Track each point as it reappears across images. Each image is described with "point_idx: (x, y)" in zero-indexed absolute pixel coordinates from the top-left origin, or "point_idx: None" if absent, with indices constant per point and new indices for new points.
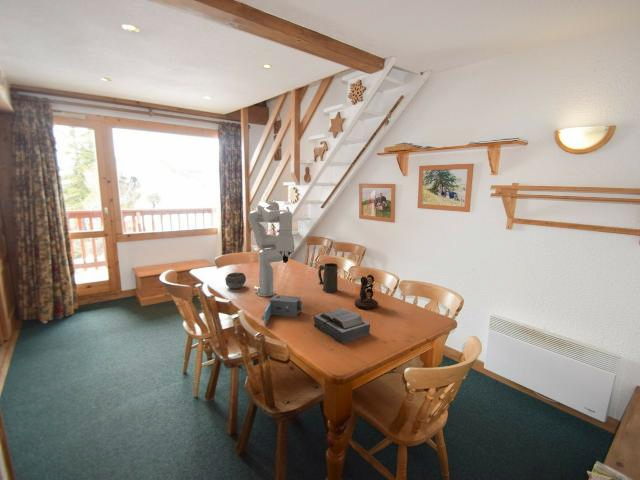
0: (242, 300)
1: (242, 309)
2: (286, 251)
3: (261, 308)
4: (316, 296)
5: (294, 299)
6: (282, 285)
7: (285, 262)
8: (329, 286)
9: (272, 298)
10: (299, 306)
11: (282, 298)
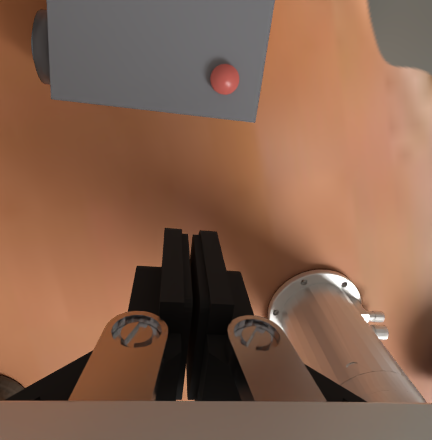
0: (424, 205)
1: (415, 77)
2: (98, 402)
3: (312, 106)
4: (43, 318)
5: (80, 32)
6: None
7: (174, 230)
8: None
9: (258, 36)
10: (45, 10)
11: (181, 46)
